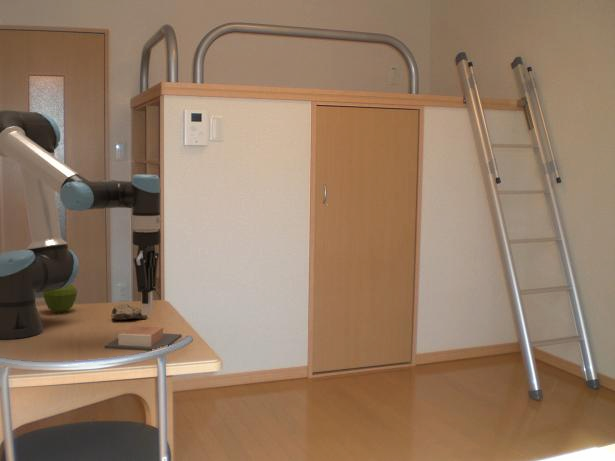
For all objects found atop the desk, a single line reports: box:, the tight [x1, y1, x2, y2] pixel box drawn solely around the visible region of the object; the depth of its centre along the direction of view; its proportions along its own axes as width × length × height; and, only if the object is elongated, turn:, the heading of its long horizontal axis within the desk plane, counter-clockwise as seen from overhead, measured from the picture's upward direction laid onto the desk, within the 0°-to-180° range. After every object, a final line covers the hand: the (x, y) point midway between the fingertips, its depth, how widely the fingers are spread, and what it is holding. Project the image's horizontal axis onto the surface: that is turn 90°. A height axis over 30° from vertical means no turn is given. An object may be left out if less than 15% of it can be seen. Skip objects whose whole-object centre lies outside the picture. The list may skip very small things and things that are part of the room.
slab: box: [117, 325, 164, 347], centre depth 191 cm, size 9×3×10 cm
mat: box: [104, 332, 182, 351], centre depth 193 cm, size 16×16×1 cm
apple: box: [42, 284, 78, 314], centre depth 229 cm, size 11×10×10 cm
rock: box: [110, 303, 148, 321], centre depth 221 cm, size 11×11×4 cm
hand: (147, 314), depth 194 cm, fingers closed
